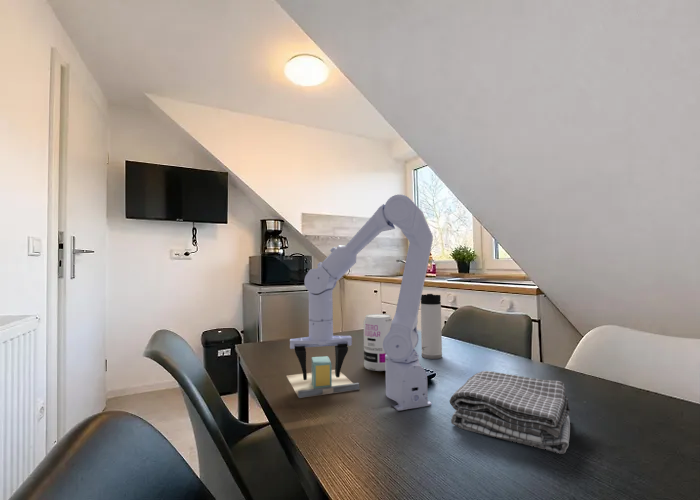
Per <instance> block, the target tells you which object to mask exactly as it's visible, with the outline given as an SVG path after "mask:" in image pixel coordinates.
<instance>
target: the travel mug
mask: <svg viewBox="0 0 700 500" xmlns="http://www.w3.org/2000/svg"><path fill="white" fill-rule="evenodd" d="M441 298H442V297H441V294H434V293H427V294H422V296H421V301H420V328H421V329H420V330H421V331H420V332H421V333H420V334H421V335H420V336H421V339H420V341H421V356H422V358H424V359H428V360H439V359H441V358H442V357H443V352H442V351H443V345H442V344H443V341H442V339H443V338H442V336H443V335H442V334H443V332H442V305H441V304H442V303H441Z"/></svg>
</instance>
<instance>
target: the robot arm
mask: <svg viewBox="0 0 700 500" xmlns="http://www.w3.org/2000/svg"><path fill="white" fill-rule="evenodd" d="M425 217H426V216H425V215H424V212H423V211H422V210H421V209H420V208H419V207H418V206H417V205H416V203H415V202H414V201H413V200H412V199H411V198H410V197H409V196H407V195H405V194H402V193H401V194H400V193H399V194H395V195H392V196H390V197H389V198H388V199H387V201H386V202H385V203H383V204H381V205H380V206H379V207H378V208H377V210H376V211H375V212H374V213H373V215H371V216H370V218H369V219H368V220H367V221H366V222H365V224H364V225H363V226H362V227H361V228H360V229H359V230H358V231H357V233H356V234H355V235H354V236H353V237H351V239H350V240H349V241H348V243H347V244H345V245H344V244H340V245H337V246H333V247H332V248H331V249H330V250H329V251H330V252H331V253H330V254H328V256H327V257H326V258H324V260H323V261H319V262H318V263H317V268H311V269H309V270H308V271H307V273H306V275H305V276H304V282H303V283H304V287H305V289H306V290H307V291H308V336H305V337H304V336H303V337H296V338H290V339H289V349H290V350H294V352H295V353H294V354H295V355H296V357H297V359H298V362H299V365H300V367H301V370H302V371H301V372H302V374H303V379H304V380H307V373H308V372H307V352H306V351H307V350H306V348H315V347H316V348H317V347H318V348H319V347H320V348H321V347H330V346H331V347H333V346H334V354H335V355H334V356H335V357H334V358H335V362H334V363H335V365H334V367H335V368H334V370H335V375H336V377H340V372H341V370H342V365H343V363H344V359H345V358H346V355H347V354H348V351H349V347H348V346H352V345H353V343H352V342H353V340H352V339H353V337H352V336H351V335H334V319H333V318H334V315H333V314H334V308H333V307H334V306H333V305H334V304H333V303H334V301H333V290H334V289H335V288H336V286H337V282H338V281H339V280H341V279H342V277H343V276H344V275H346V273H348V271H349V270H350V269H351V268H353V266H354V265H355V264H357V255H358V254H359V253H360V252H361V251H362V250H364V249H365V247H366V246H368V245H369V244H370V243H371V242H372V241H373V240H374V239H375V238H376V237H377V236H379V235H380V234H381V233H383V232H387V231H392V230H395V229H396V227H397V228H398V229H399V230H400V231H401V232H402V234H403V235H404V236H405V238H406V239H407V241H408V243H409V244H408V247H407V248H408V249H407V253H406V259H405V264H404V268H403V273H402V278H401V279H402V280H401V283H400V290H399V292H398V293H399V294H398V297H397V298H398V299H397V304H396V310H395V313H394V317H393V318H392V320H393V321H392V324H391V328H390V331H389V333H388V334H387V335H386V336H385V338H384V341H383V349H384V351H385V353H386V355H385V371H384V372H385V396H386V397H387V398H388V399H390V400H393V401H395V402H396V404H395V403H394V404H391V407H393V408H394V409H395V410H396V411H399V412H400V411H405V410H410V409H411V410H412V409H417V408H423V407H428V406H431V405H432V402H431V401H430V400H428V399H429V397H428V376H427V371H426V370H425V368H424V367H422V366H421V363H420V358H419V354H418V353H417V351H416V350H415V348H416V347H417V345H418V344H419V340H420V339H419V334H418V330H417V329H418V322H419V321H418V320H419V318H418V317H419V316H418V315H419V311H420V307H421V296H422V295H423V291H424V287H425V285H424V284H425V281H426V275H427V270H428V265H429V261H430V255H431V251H432V246H433V240H434V236H433V233H432V231H431V228H430V226H429V223H428V221H427V219H426V218H425Z"/></svg>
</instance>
